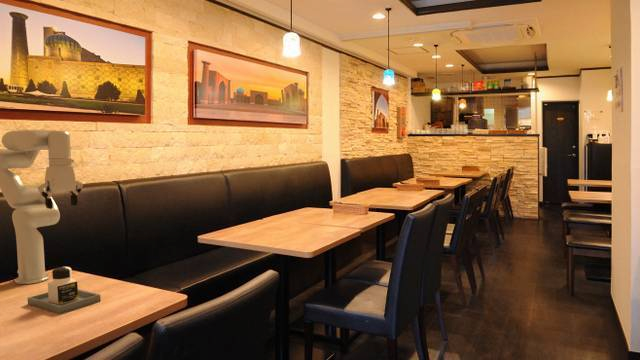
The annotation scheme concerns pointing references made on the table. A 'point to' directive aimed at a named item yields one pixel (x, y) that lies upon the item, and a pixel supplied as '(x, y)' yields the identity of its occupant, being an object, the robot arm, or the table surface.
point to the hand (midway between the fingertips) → (62, 206)
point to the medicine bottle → (62, 286)
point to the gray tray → (83, 300)
